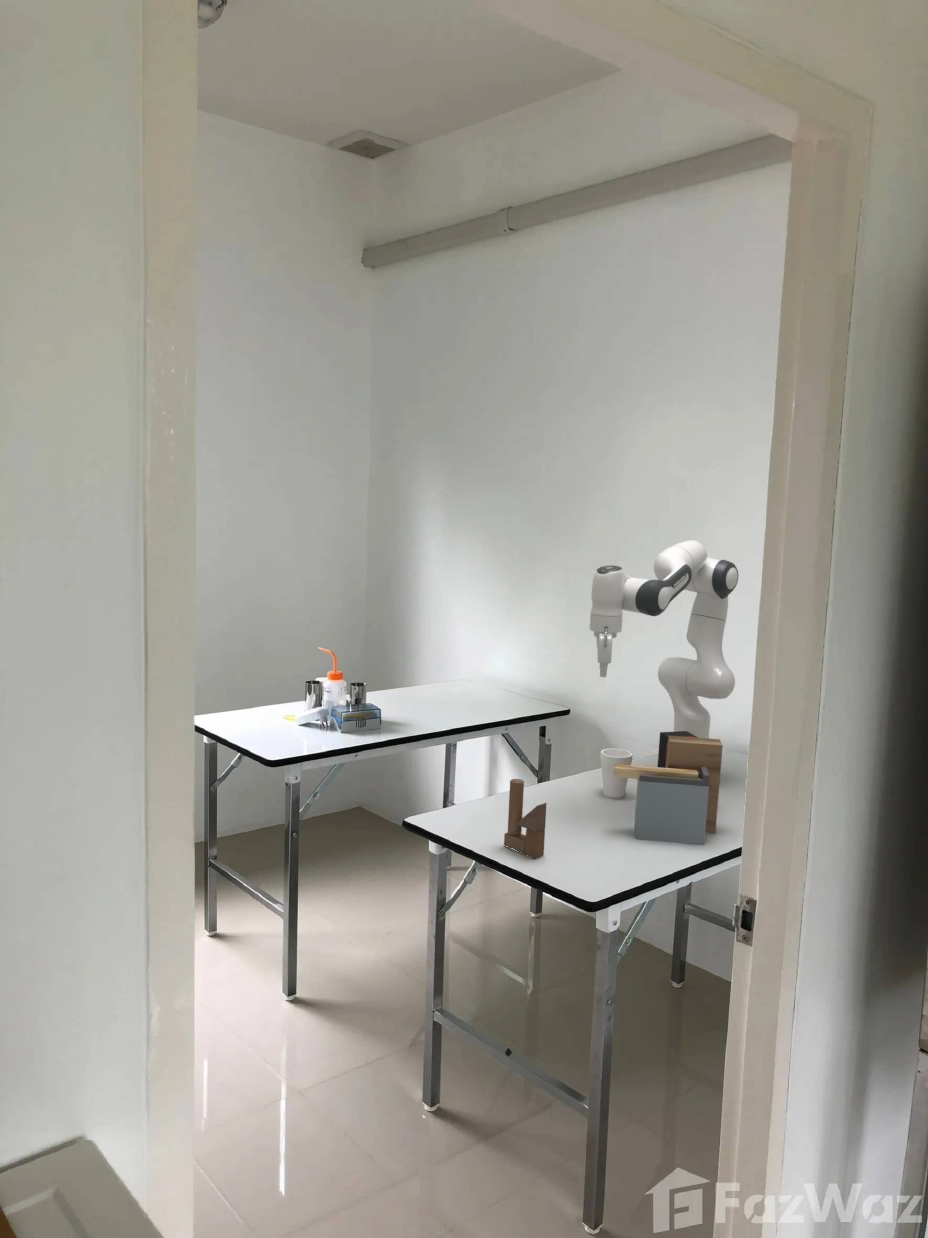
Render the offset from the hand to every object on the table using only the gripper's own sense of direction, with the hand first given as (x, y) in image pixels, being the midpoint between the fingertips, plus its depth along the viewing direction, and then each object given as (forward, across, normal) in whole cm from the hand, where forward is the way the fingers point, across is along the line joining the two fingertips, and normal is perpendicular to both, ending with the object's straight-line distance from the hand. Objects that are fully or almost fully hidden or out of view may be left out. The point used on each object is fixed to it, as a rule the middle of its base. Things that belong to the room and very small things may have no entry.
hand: (602, 673), depth 268 cm
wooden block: (+41, -32, +18) cm, 55 cm away
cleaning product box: (+41, +14, -26) cm, 51 cm away
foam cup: (+41, +18, -6) cm, 45 cm away
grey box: (+41, -13, -20) cm, 47 cm away
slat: (+25, -13, -15) cm, 32 cm away
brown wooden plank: (+41, -5, -26) cm, 49 cm away
